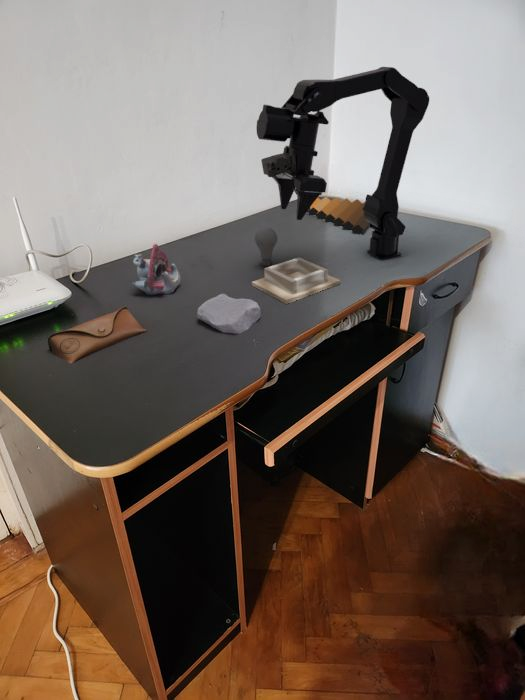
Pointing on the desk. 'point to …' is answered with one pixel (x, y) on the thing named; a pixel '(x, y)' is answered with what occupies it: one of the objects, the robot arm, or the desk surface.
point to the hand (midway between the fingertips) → (290, 214)
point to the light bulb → (266, 243)
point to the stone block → (229, 313)
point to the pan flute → (341, 213)
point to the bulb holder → (294, 280)
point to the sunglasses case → (94, 335)
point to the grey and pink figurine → (156, 273)
